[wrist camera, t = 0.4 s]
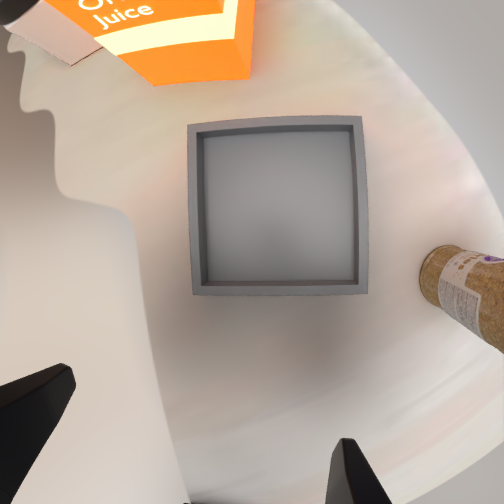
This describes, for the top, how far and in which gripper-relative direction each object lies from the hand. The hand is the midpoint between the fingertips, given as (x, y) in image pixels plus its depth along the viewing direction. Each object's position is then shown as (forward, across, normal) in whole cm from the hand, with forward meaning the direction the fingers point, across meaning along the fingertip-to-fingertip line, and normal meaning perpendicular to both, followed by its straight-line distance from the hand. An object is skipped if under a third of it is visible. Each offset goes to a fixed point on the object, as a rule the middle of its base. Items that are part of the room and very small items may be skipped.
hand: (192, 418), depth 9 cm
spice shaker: (+14, -13, -1) cm, 20 cm away
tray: (+15, -1, -3) cm, 15 cm away
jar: (+19, +20, -18) cm, 33 cm away
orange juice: (+18, +7, -16) cm, 25 cm away
